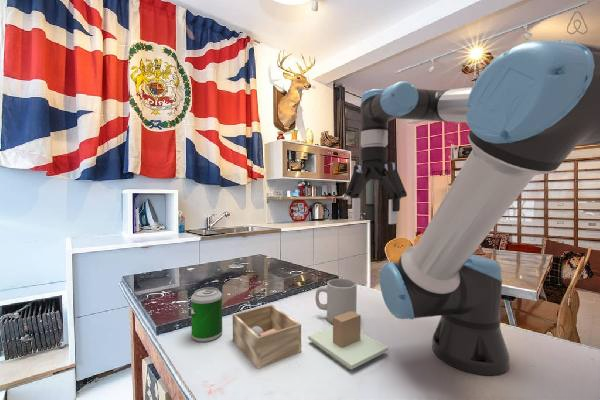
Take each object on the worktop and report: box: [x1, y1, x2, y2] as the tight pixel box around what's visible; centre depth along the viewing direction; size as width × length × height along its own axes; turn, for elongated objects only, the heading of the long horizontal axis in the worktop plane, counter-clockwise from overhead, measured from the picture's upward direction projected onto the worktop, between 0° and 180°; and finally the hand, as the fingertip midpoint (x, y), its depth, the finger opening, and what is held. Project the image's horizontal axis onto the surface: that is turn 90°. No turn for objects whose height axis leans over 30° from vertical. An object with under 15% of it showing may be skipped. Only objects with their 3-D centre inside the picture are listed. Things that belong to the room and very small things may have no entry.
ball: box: [252, 326, 264, 336], centre depth 71 cm, size 4×4×4 cm
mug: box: [315, 278, 358, 326], centre depth 85 cm, size 12×8×11 cm
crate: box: [232, 304, 302, 369], centre depth 70 cm, size 14×11×7 cm
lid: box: [307, 311, 389, 370], centre depth 68 cm, size 15×12×8 cm
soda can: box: [190, 287, 223, 343], centre depth 74 cm, size 8×8×12 cm
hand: (373, 221), depth 84 cm, fingers open, 13 cm apart
